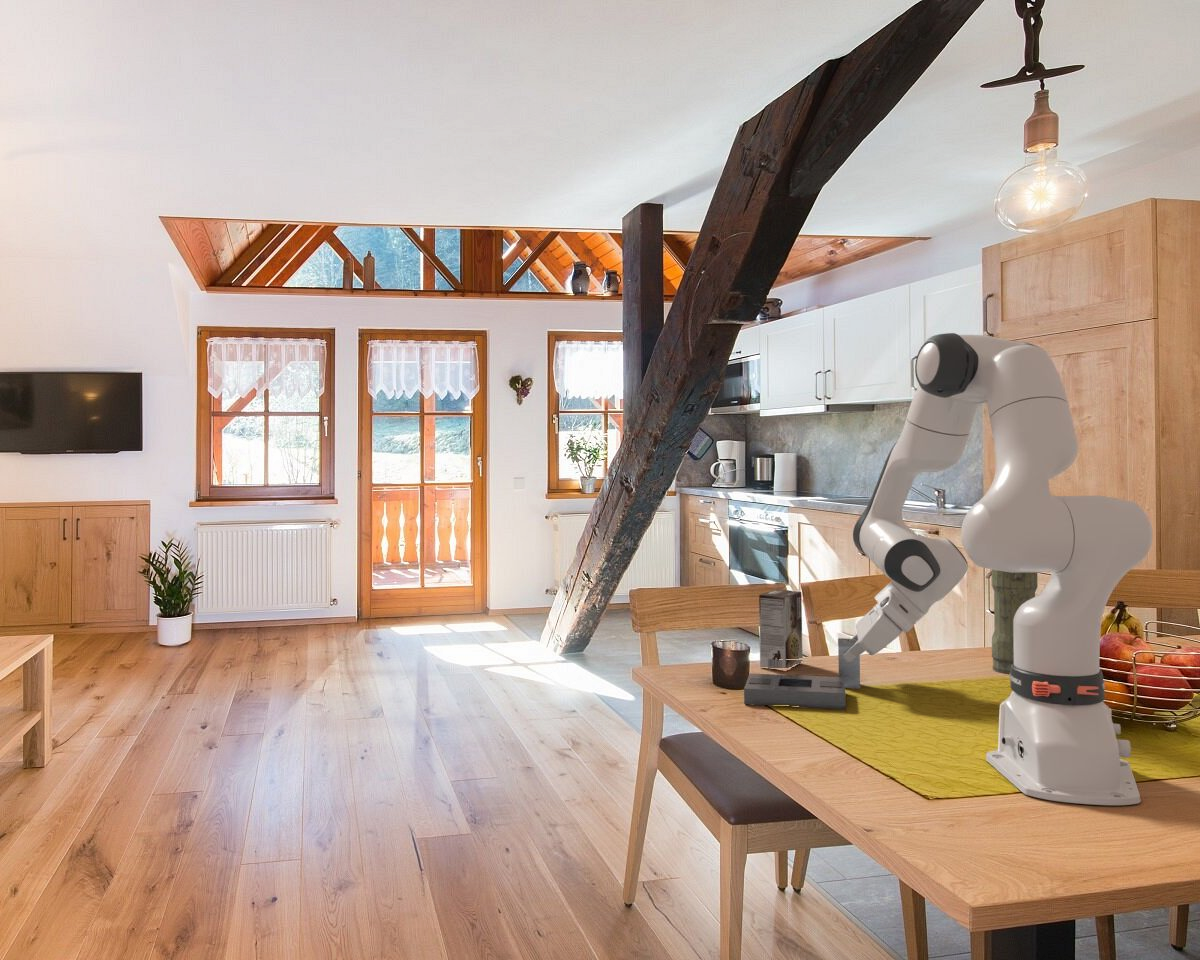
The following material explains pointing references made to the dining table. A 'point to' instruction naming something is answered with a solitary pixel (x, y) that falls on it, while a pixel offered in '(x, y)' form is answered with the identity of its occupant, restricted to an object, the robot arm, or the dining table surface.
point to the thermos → (1008, 613)
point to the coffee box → (780, 628)
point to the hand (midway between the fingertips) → (845, 656)
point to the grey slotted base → (796, 691)
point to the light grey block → (848, 664)
